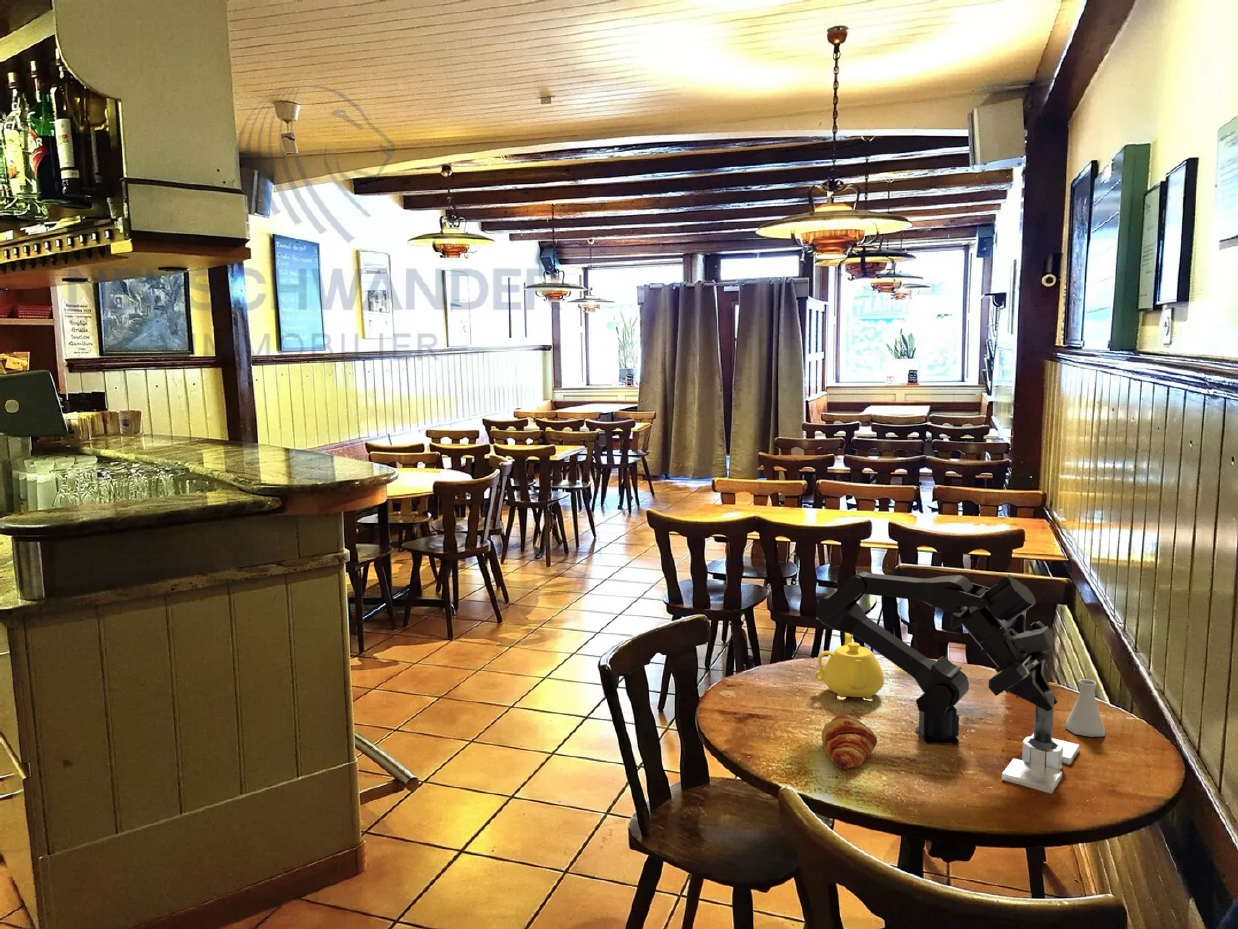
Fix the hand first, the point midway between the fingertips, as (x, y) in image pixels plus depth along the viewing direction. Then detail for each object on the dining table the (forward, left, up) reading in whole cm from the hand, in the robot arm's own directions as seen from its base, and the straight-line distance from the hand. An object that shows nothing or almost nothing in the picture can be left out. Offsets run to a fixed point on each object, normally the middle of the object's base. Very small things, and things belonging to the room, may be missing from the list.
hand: (1052, 707), depth 154 cm
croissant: (-35, +7, -12) cm, 37 cm away
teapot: (-28, +34, -12) cm, 46 cm away
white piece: (-1, +1, -11) cm, 11 cm away
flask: (+14, +15, -12) cm, 24 cm away
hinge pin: (-1, +1, -7) cm, 7 cm away
